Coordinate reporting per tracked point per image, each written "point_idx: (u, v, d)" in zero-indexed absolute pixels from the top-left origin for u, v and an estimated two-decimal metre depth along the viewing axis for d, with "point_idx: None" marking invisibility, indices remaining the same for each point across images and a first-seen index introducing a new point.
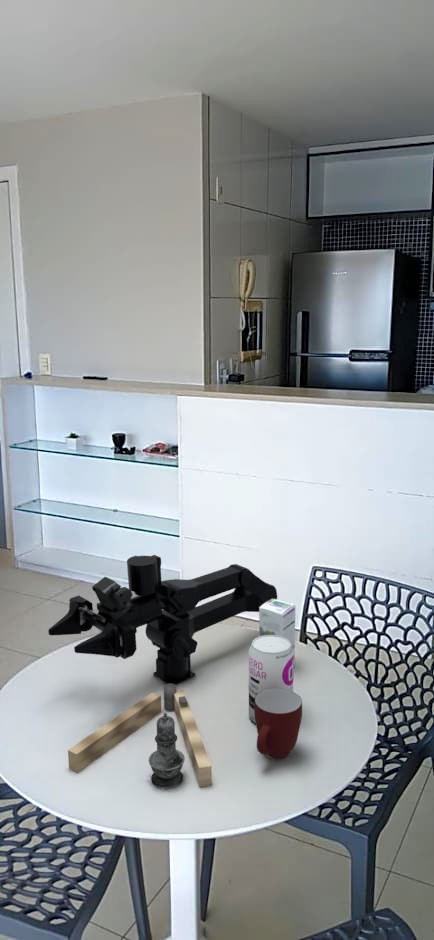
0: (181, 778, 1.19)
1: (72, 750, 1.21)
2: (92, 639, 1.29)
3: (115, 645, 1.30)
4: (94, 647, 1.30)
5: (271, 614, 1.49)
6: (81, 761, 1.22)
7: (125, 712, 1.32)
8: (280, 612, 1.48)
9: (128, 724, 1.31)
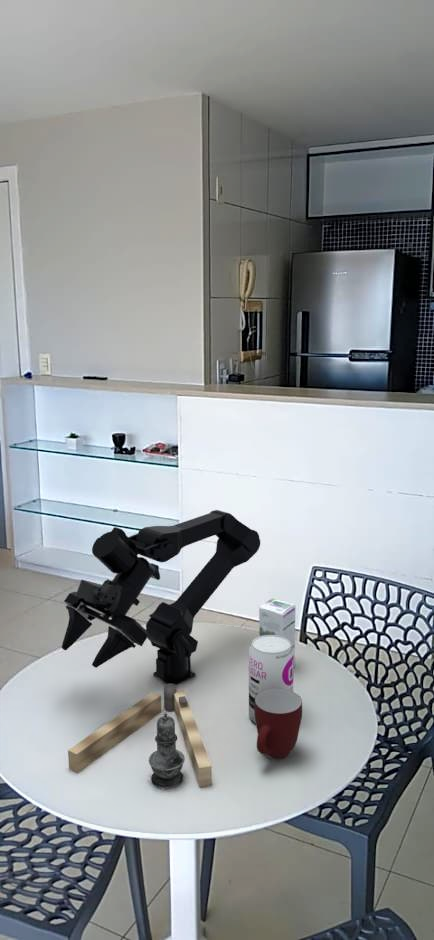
0: (181, 778, 1.19)
1: (72, 750, 1.21)
2: (103, 649, 1.29)
3: (126, 641, 1.30)
4: (109, 653, 1.30)
5: (271, 615, 1.49)
6: (81, 761, 1.22)
7: (125, 712, 1.32)
8: (280, 612, 1.48)
9: (128, 724, 1.31)
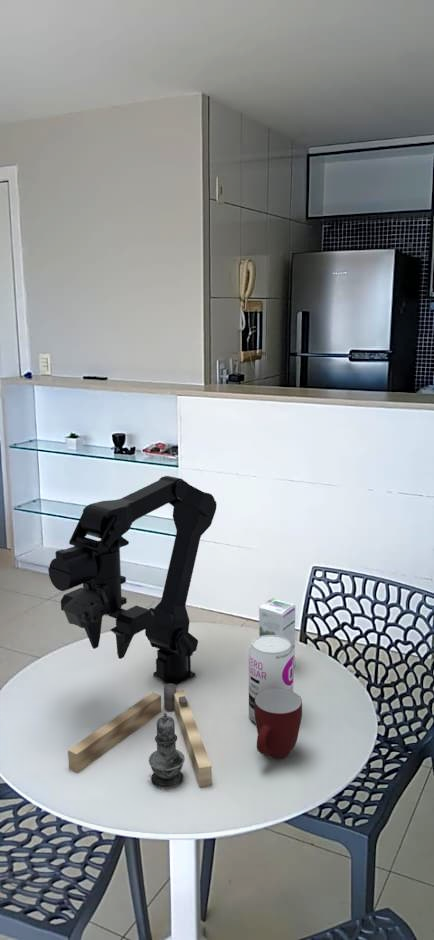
0: (181, 778, 1.19)
1: (72, 750, 1.21)
2: (119, 645, 1.31)
3: None
4: (126, 642, 1.32)
5: (271, 614, 1.49)
6: (81, 761, 1.22)
7: (125, 712, 1.32)
8: (280, 612, 1.48)
9: (128, 724, 1.31)
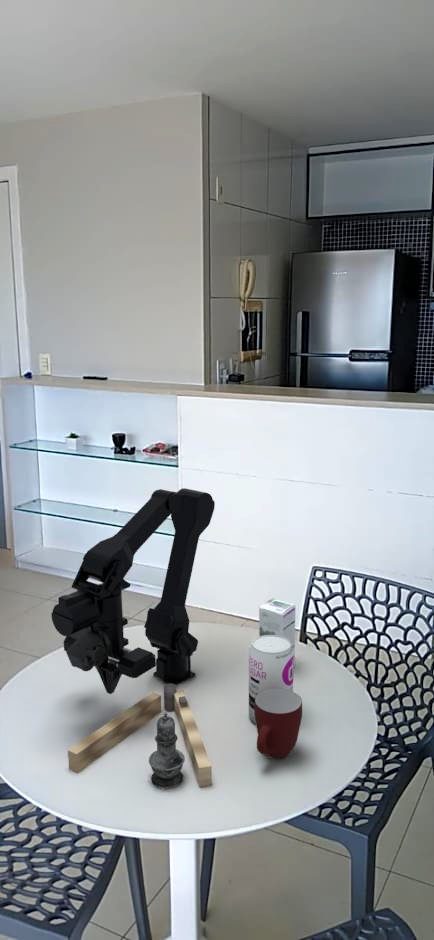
0: (181, 778, 1.19)
1: (72, 750, 1.21)
2: (109, 681, 1.35)
3: None
4: (116, 678, 1.36)
5: (271, 615, 1.49)
6: (81, 761, 1.22)
7: (125, 712, 1.32)
8: (280, 612, 1.48)
9: (128, 724, 1.31)
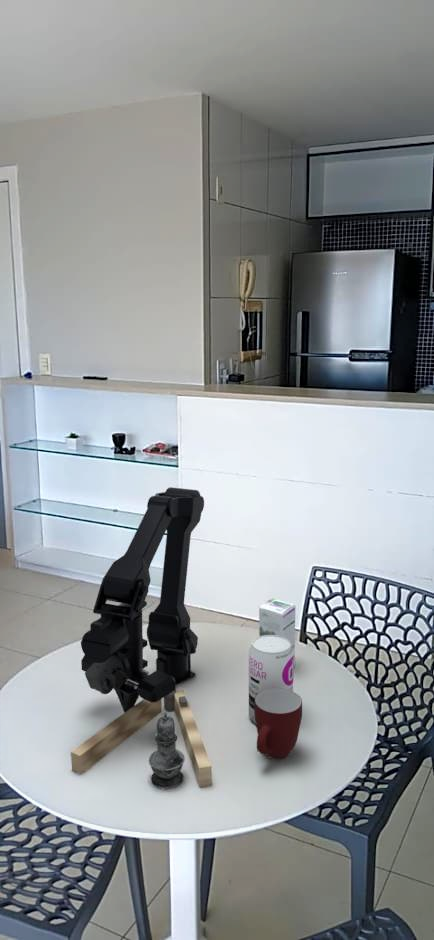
0: (181, 778, 1.19)
1: (75, 752, 1.21)
2: (126, 703, 1.33)
3: None
4: (133, 699, 1.34)
5: (271, 614, 1.49)
6: (84, 763, 1.21)
7: (126, 713, 1.32)
8: (280, 612, 1.48)
9: (129, 725, 1.31)
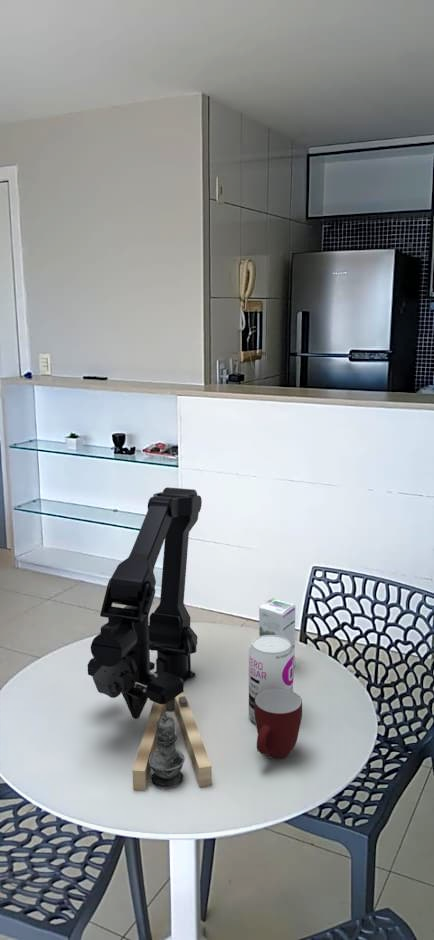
0: (181, 778, 1.19)
1: (137, 769, 1.17)
2: (135, 706, 1.32)
3: None
4: (142, 703, 1.33)
5: (271, 614, 1.49)
6: (146, 778, 1.17)
7: (149, 721, 1.30)
8: (280, 612, 1.48)
9: None
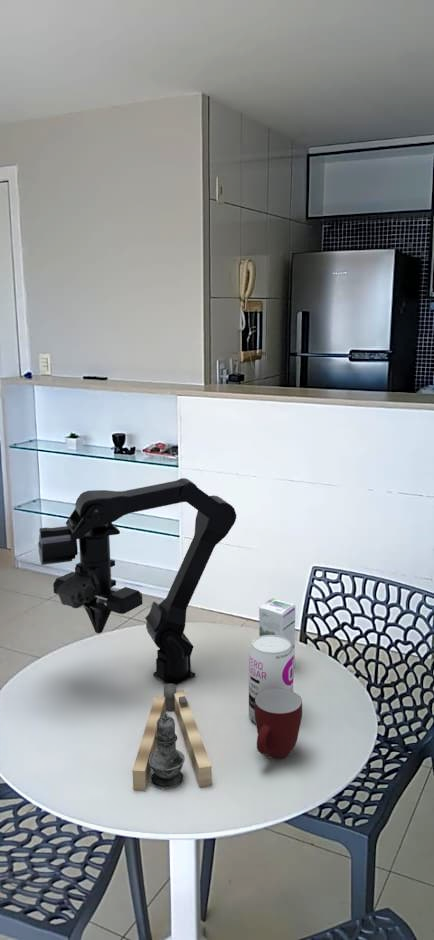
0: (181, 778, 1.19)
1: (137, 769, 1.17)
2: (98, 620, 1.42)
3: None
4: (104, 618, 1.43)
5: (271, 614, 1.49)
6: (146, 778, 1.17)
7: (149, 721, 1.30)
8: (280, 612, 1.48)
9: None
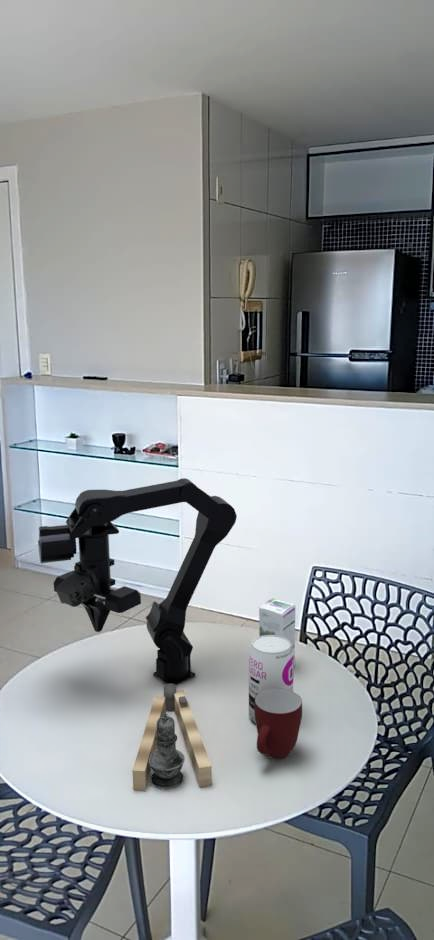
0: (181, 778, 1.19)
1: (137, 769, 1.17)
2: (97, 619, 1.42)
3: None
4: (103, 616, 1.43)
5: (271, 614, 1.49)
6: (146, 778, 1.17)
7: (149, 721, 1.30)
8: (280, 612, 1.48)
9: None
